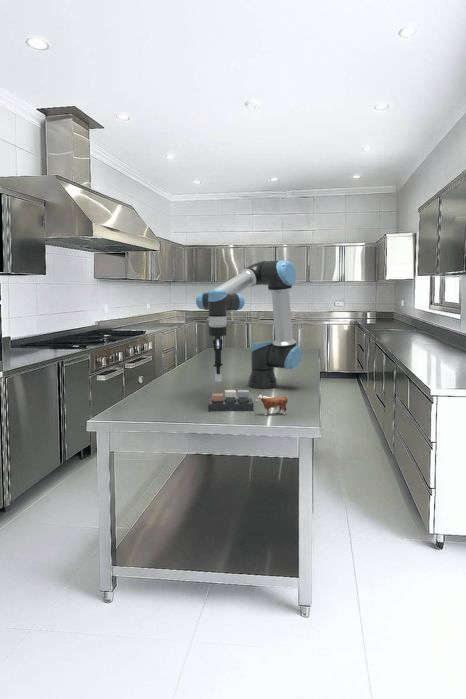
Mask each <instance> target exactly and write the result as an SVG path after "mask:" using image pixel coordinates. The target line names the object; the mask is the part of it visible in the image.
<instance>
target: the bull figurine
mask: <svg viewBox="0 0 466 699" xmlns="http://www.w3.org/2000/svg"><path fill="white" fill-rule="evenodd" d="M254 401H255V403H258V404H260V405H261V407H262V408H263V409H265V413H264V416H268V414H270V409H274V410H277V409H278V410H277V411H276V414H280V413H281V411H283V413H282V415H284V416H285V415H286V412H287V407H286V406H287V404H288V397H286V396H279V397H277V396H276V397H270V396H267V395H262V394H259V395H258V396H257V397H256V399H255V400H254Z"/></svg>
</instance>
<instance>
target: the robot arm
mask: <svg viewBox="0 0 466 699" xmlns="http://www.w3.org/2000/svg"><path fill="white" fill-rule="evenodd" d="M296 279H297V272H296V268H295V266H294V265H293V263H292V262H291V261H288V260H282V259H281V260H263V261H258V262H255V263H253V264H251V265H249V266H247V267H245V268H244V269H242V270H241V271H240V273H239V274H237V275H235V276H234V277H233V278H231V279H229V280H228V281H226V282H224V283H222V284H220V285H218V286H217V287H215V288H214V289H210V290H208V292H200V293H198V294H197V295H196V298H195V304H196V307H197V308H198V309H199V310H204V311H208V318H207V320H206V321H207V322H208V325H209V327H208V335H209V336H211V337H214V339H213V340H212V344H213V350H214V364H213V367H214V382H222V366H223V363H222V350H223V339H221V337H225V336H227V333H228V332H227V327H226V326H227V321H228V320H227V312H233V311H234V312H235V311H239V310H242V309H243V308H244V306H245V301H246V300H245V297H244V296H243V294H241V292H243V291H244V290H246V289H248V288H253V287H255V286H262V285H263V286H267V290H268V292H270V293H271V301H272V314H273V326H274V337H275V340H274V341H272V340H271V341H270V340H268V341H261V342H260V341H259V342H254V343H252V345H251V351H250V352H251V370H250V375H249V377H248V381H247V386H248V387H250V388H254V389H272V388H273V389H274V388H277V387H278V381H277V378H276V374H275V368H277V369H285V370H294V369H296V368H297V367H298V366H299V364H300V362H301V359H302V349H301V347H300V346H298V345H297V341H296V340H295V339H294V338H293V326H292V325H293V324H292V310H291V300H290V299H291V298H290V291H291V289H293V285H294V284H295V283H296Z"/></svg>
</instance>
